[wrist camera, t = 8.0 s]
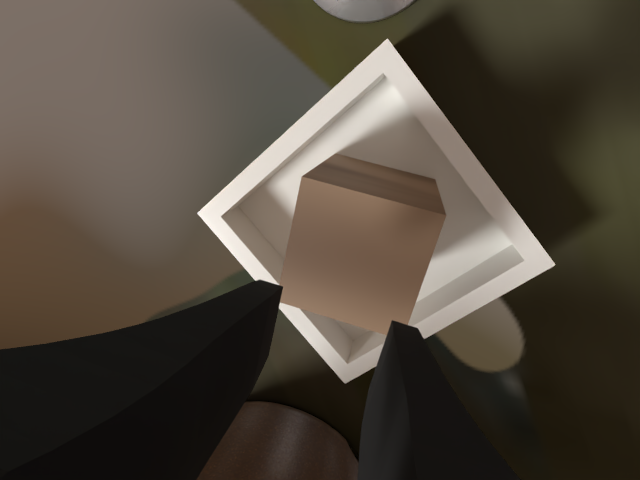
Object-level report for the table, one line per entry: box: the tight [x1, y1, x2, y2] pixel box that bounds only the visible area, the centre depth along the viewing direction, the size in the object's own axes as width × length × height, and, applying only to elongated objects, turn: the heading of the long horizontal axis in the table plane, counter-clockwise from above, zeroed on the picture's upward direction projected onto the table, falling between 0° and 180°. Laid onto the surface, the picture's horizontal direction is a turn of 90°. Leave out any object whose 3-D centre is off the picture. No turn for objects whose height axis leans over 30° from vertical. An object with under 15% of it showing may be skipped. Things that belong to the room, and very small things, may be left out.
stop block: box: [279, 153, 446, 335], centre depth 16 cm, size 4×4×6 cm
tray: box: [197, 39, 555, 384], centre depth 18 cm, size 11×11×3 cm
